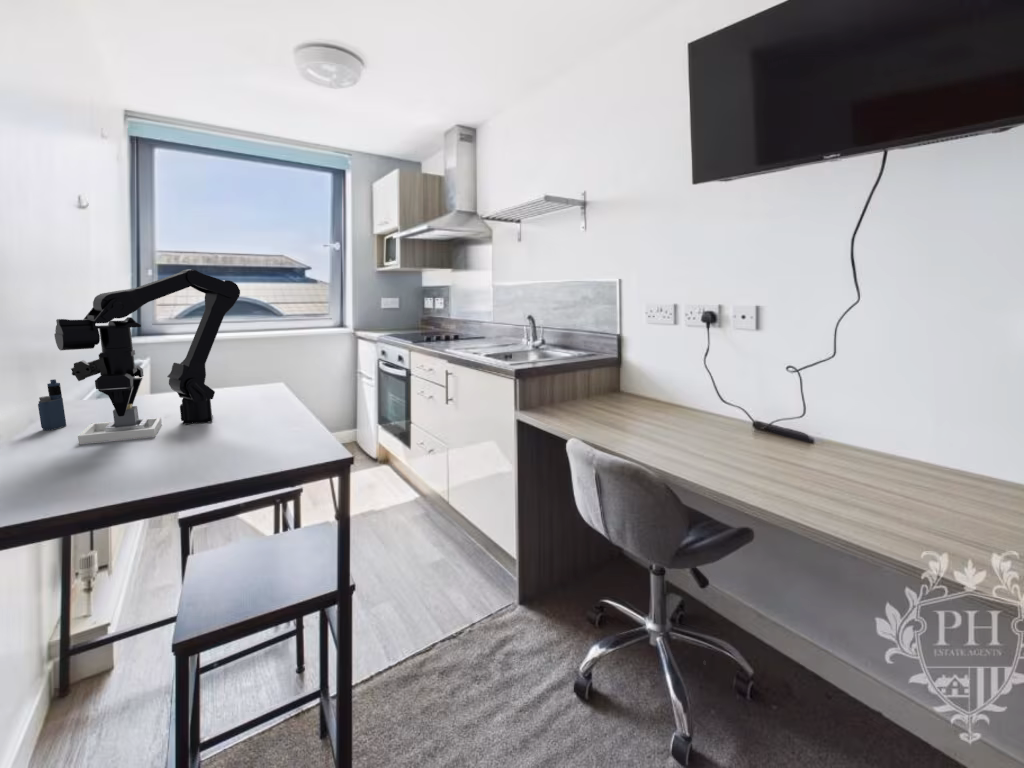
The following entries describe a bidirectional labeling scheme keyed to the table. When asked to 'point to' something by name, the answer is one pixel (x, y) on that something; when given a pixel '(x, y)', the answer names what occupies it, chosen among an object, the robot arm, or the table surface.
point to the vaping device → (52, 408)
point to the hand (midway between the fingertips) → (125, 412)
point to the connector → (127, 417)
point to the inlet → (142, 425)
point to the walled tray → (97, 432)
